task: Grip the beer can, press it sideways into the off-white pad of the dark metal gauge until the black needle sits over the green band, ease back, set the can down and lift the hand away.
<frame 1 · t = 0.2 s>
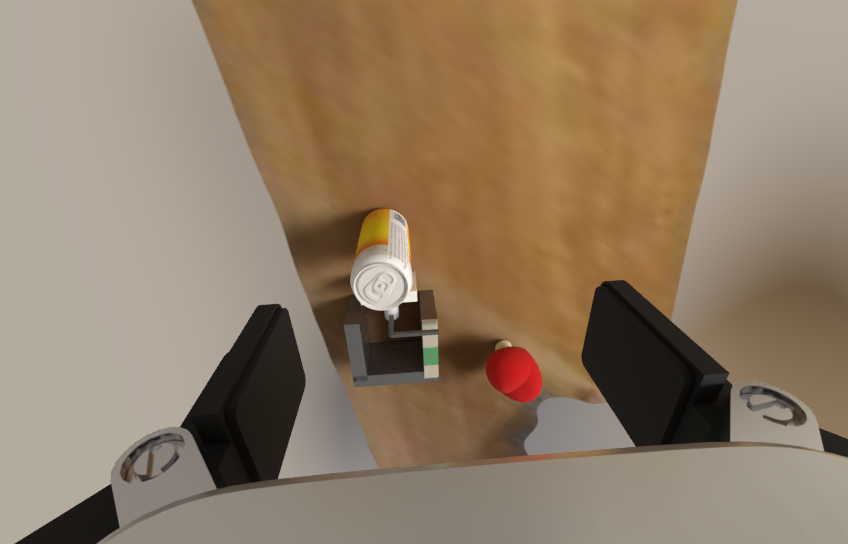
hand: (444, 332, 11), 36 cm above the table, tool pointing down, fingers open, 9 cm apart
gauge frame: (393, 320, 55), on the table
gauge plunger: (399, 304, 48), point 5 cm above the table, slide at 0.0 cm
beer can: (385, 228, 48), on the table
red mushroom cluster: (501, 342, 59), on the table
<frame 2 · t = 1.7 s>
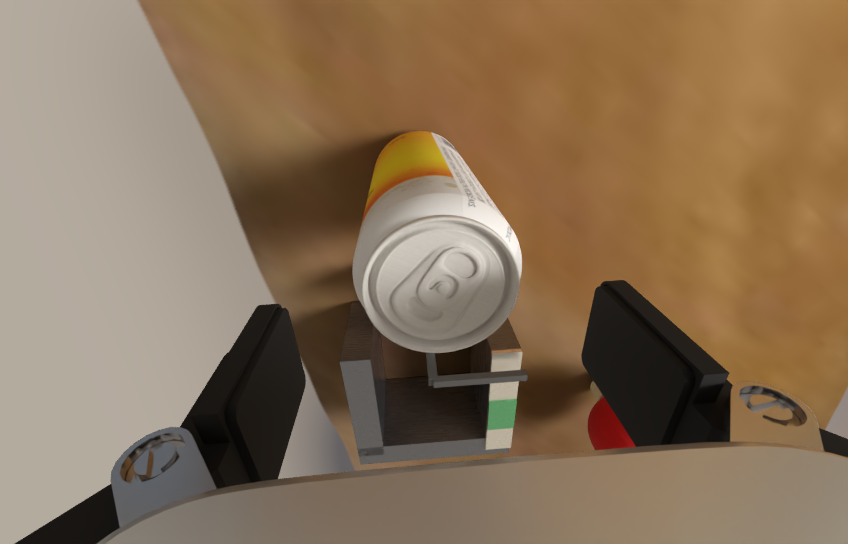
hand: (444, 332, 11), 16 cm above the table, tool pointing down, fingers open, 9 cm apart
gauge frame: (426, 343, 32), on the table
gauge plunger: (445, 320, 25), point 5 cm above the table, slide at 0.0 cm
beer can: (418, 174, 25), on the table
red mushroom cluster: (598, 376, 36), on the table
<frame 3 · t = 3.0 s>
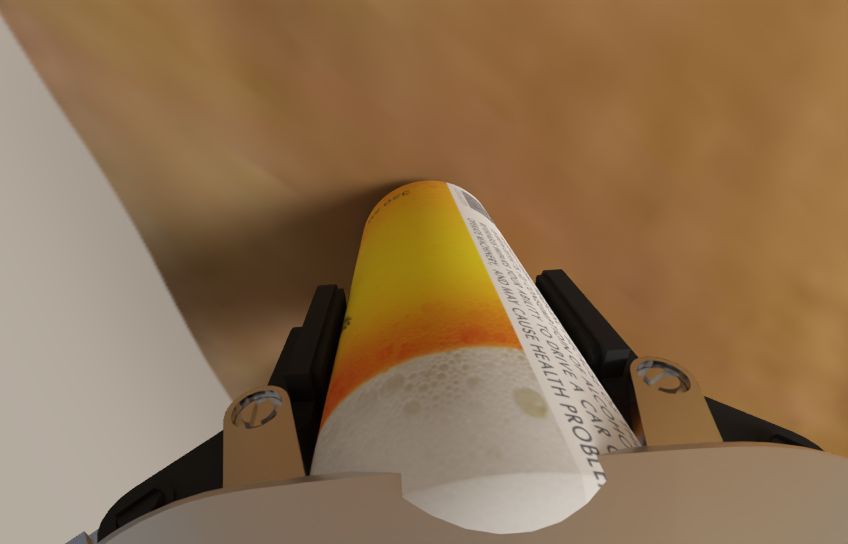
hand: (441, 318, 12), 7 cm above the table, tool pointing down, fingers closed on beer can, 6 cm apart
beer can: (426, 237, 18), on the table, touching gripper
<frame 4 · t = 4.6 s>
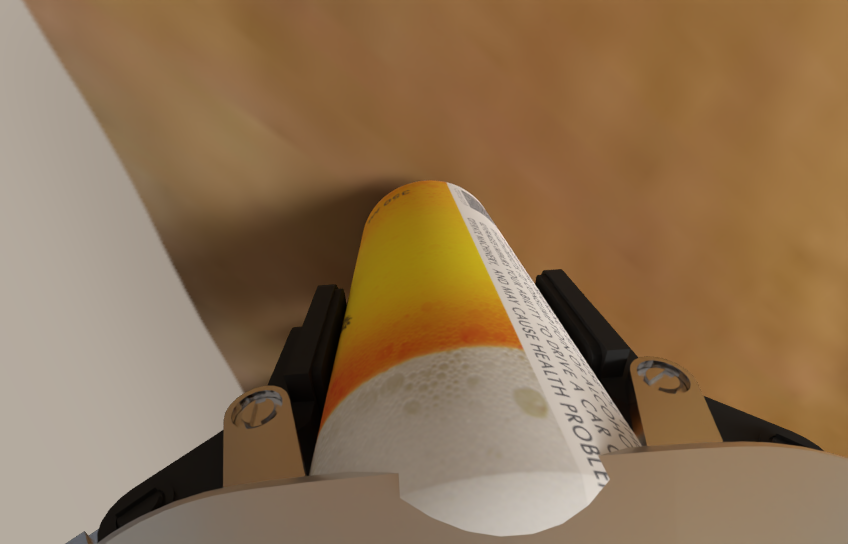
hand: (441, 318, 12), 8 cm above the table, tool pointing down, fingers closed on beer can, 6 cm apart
beer can: (426, 237, 18), point 1 cm above the table, touching gripper
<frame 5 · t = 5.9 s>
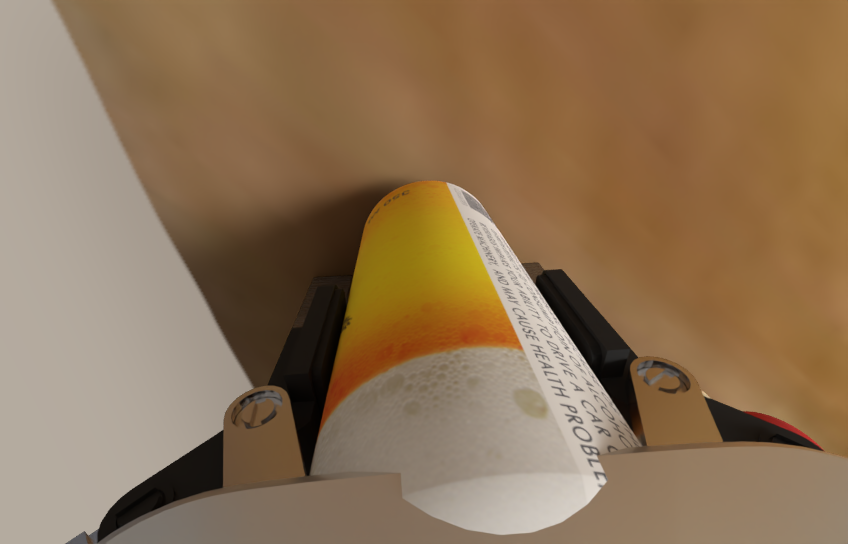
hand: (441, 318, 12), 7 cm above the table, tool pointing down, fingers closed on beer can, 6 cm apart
gauge frame: (430, 344, 22), on the table
beer can: (426, 237, 18), point 1 cm above the table, touching gripper
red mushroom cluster: (676, 392, 25), on the table
when the fingers open (7 cm above the table, at t = 7.8 s): beer can stays where it is, on the table.
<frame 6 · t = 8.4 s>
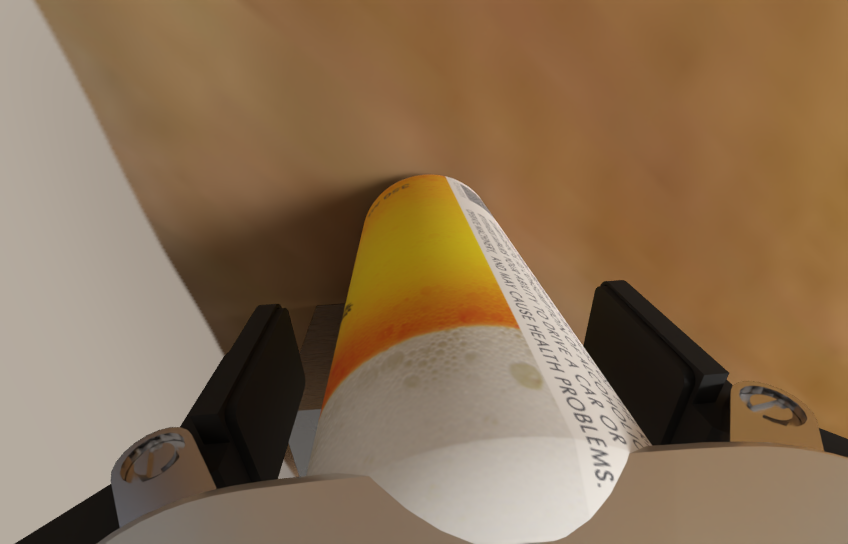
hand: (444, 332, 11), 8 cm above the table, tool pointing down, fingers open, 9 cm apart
gauge frame: (432, 368, 22), on the table
beer can: (426, 231, 18), on the table
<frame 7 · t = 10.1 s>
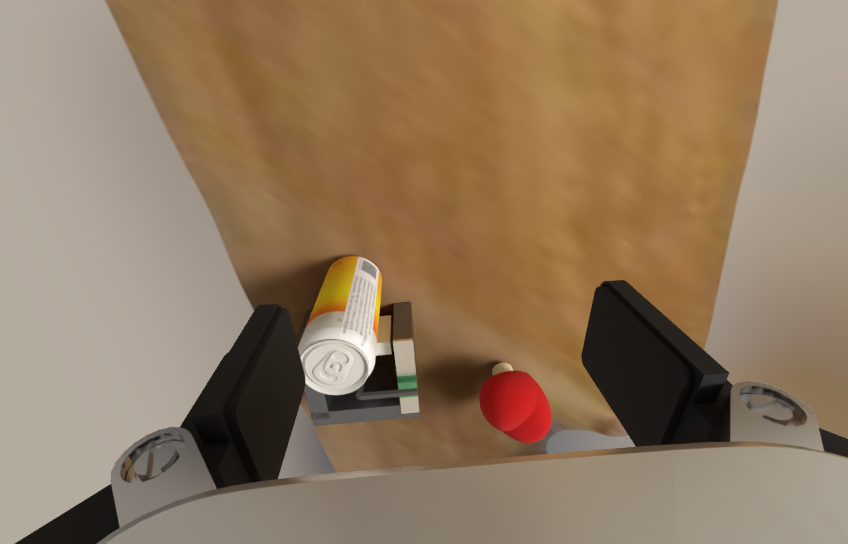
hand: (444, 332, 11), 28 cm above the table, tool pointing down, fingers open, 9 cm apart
gauge frame: (365, 340, 45), on the table
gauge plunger: (371, 357, 40), point 5 cm above the table, slide at 4.8 cm
beer can: (355, 276, 41), on the table
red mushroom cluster: (499, 365, 48), on the table
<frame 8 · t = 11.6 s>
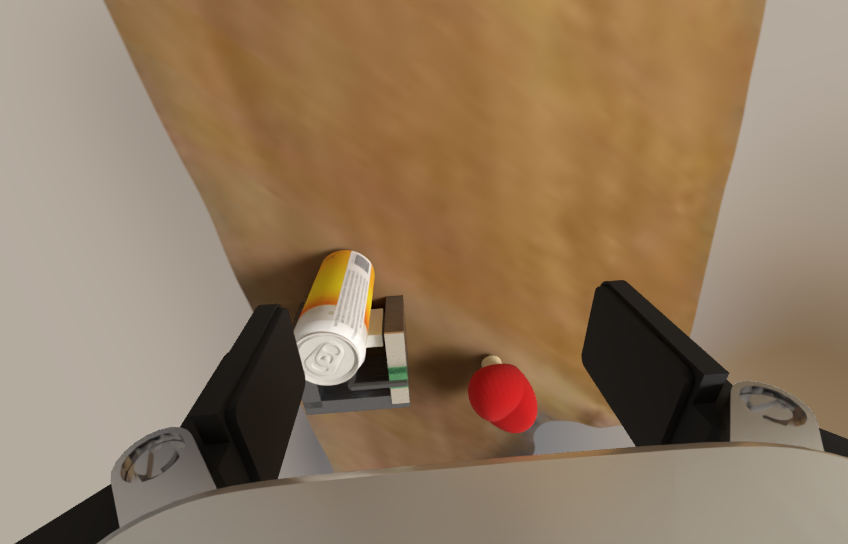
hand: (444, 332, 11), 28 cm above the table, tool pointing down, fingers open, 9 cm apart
gauge frame: (357, 332, 46), on the table
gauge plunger: (362, 348, 41), point 5 cm above the table, slide at 4.8 cm
beer can: (348, 270, 42), on the table
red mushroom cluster: (489, 357, 49), on the table
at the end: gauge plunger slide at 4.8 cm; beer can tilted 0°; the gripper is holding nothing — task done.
